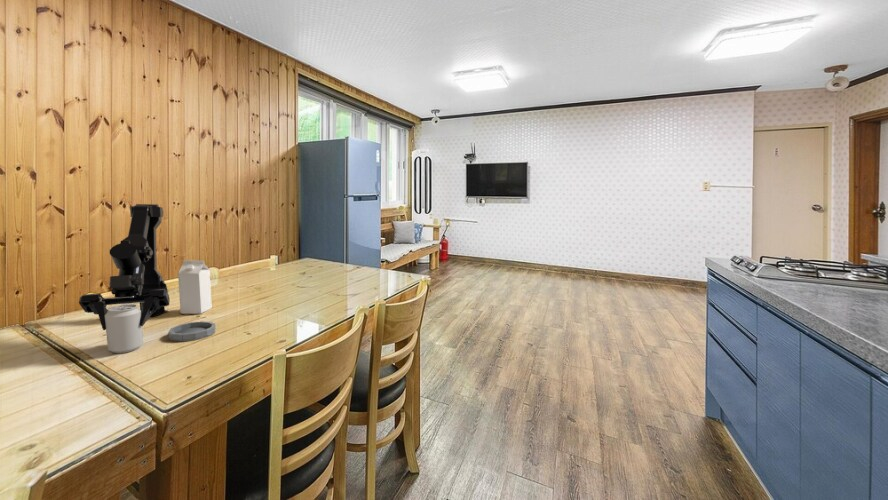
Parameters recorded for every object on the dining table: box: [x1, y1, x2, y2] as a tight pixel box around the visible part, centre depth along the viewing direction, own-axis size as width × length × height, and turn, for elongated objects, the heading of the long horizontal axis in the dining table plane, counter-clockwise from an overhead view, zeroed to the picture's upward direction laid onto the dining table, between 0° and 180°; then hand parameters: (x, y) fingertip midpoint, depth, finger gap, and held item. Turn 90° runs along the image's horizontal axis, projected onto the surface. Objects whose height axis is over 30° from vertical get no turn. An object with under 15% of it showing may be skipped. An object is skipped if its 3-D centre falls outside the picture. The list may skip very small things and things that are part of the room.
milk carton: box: [177, 259, 213, 315], centre depth 134 cm, size 7×7×19 cm
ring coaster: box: [168, 320, 216, 342], centre depth 113 cm, size 12×12×2 cm
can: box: [105, 303, 145, 354], centre depth 101 cm, size 8×8×12 cm
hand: (123, 327), depth 99 cm, fingers closed on can, 7 cm apart
